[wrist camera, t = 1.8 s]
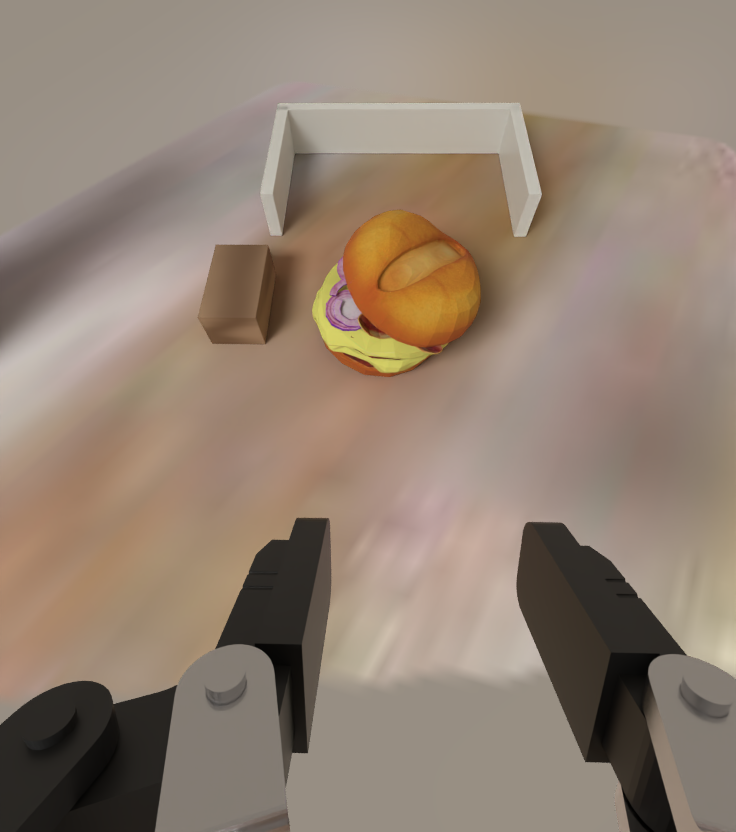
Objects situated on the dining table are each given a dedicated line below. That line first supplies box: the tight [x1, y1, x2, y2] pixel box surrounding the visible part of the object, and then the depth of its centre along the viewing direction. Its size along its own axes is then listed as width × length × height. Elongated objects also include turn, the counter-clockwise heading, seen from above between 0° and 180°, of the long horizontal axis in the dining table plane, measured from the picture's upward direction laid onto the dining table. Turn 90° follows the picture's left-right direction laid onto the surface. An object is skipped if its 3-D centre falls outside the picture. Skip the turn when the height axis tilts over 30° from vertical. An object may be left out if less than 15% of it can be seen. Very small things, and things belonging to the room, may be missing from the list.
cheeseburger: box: [312, 210, 481, 377], centre depth 30 cm, size 10×11×10 cm
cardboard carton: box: [198, 245, 276, 344], centre depth 33 cm, size 4×7×3 cm, turn 179°
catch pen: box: [260, 103, 542, 237], centre depth 38 cm, size 22×12×4 cm, turn 89°
